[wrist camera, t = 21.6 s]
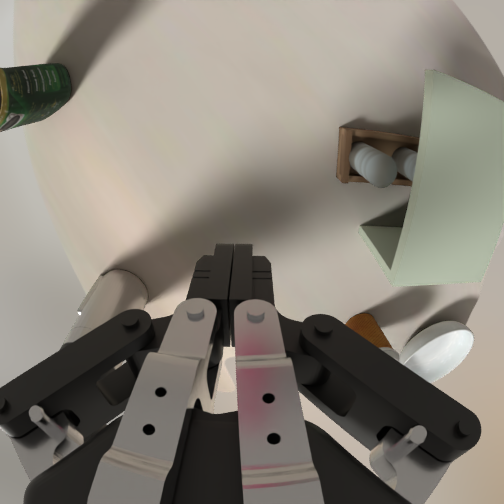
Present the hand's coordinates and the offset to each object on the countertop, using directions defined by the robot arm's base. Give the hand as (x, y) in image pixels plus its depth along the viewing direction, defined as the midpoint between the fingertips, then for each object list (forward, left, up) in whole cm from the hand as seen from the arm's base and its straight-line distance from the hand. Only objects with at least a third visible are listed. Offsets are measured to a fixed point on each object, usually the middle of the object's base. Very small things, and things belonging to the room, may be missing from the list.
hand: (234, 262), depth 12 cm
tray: (+22, 0, -27) cm, 35 cm away
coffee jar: (-30, +12, -27) cm, 42 cm away
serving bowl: (+43, -40, -27) cm, 65 cm away
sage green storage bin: (+25, 0, -27) cm, 37 cm away
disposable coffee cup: (+22, -32, -27) cm, 47 cm away
